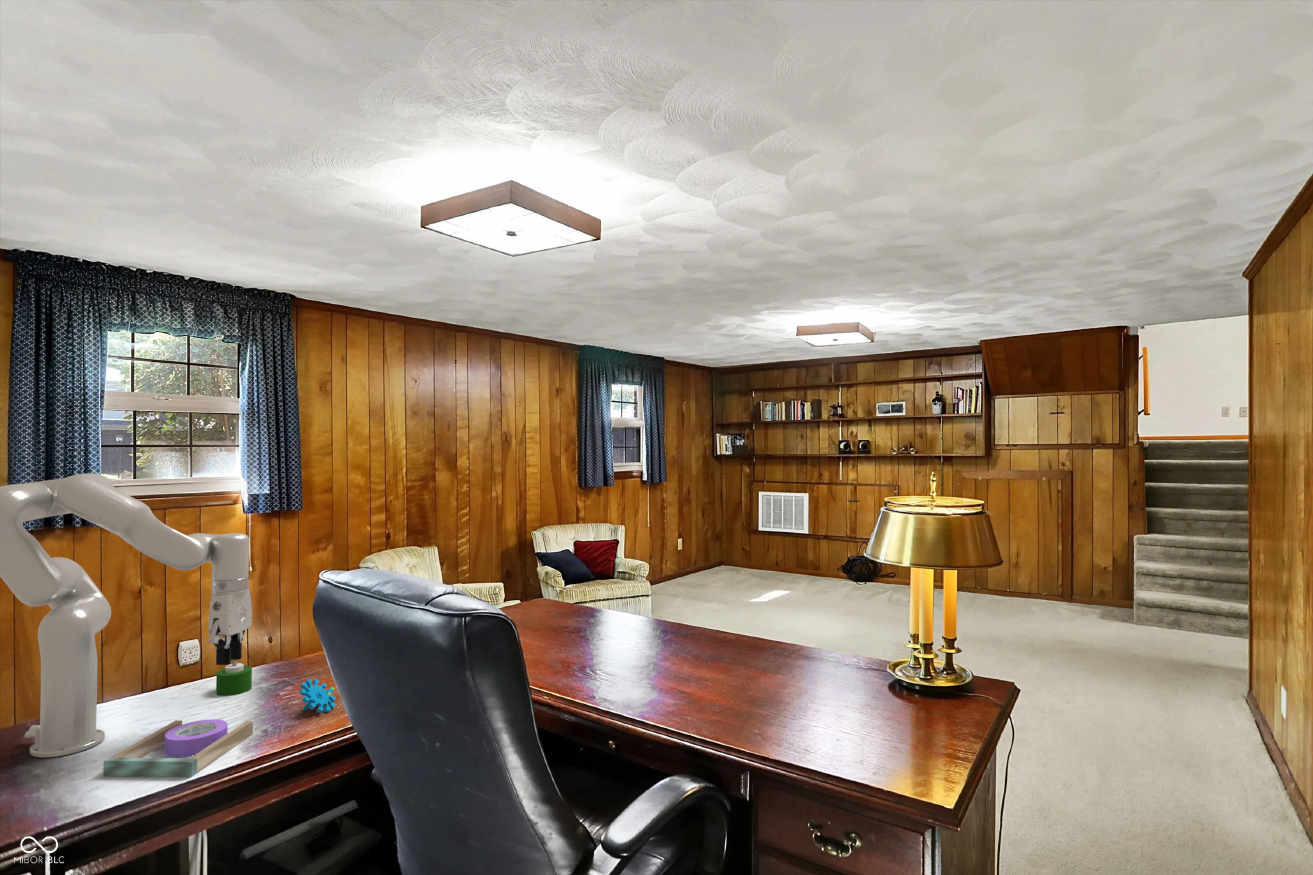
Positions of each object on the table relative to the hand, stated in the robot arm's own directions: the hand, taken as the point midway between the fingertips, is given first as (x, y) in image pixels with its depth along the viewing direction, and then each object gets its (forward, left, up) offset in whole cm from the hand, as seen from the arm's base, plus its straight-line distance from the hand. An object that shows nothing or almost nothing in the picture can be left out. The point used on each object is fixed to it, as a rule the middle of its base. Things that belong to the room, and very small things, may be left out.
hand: (228, 661), depth 163 cm
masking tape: (0, -11, -16) cm, 19 cm away
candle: (-13, +23, -16) cm, 31 cm away
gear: (+17, +10, -16) cm, 25 cm away
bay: (0, -15, -15) cm, 21 cm away
